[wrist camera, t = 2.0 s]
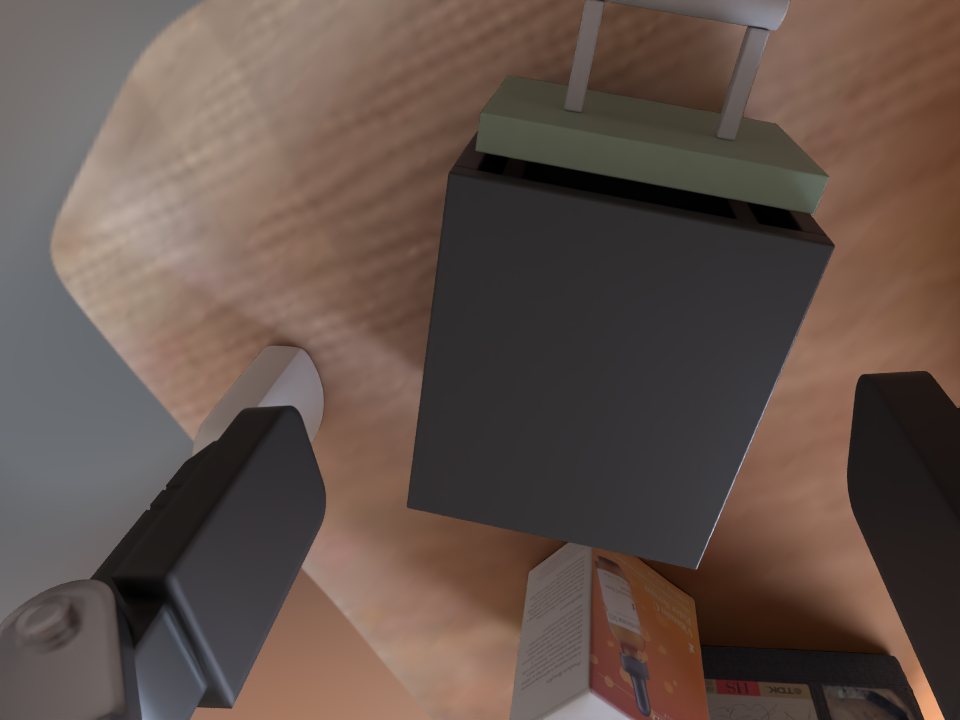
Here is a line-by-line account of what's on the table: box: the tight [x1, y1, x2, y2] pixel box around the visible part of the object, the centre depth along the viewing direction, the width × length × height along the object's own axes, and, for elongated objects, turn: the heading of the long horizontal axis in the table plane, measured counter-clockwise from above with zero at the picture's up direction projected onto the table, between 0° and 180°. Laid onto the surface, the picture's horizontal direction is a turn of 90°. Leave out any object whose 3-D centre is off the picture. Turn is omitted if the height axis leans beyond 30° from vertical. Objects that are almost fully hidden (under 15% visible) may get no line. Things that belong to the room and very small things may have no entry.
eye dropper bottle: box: [192, 346, 324, 457], centre depth 33 cm, size 4×6×12 cm
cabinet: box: [407, 131, 835, 569], centre depth 29 cm, size 14×12×9 cm
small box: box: [510, 542, 709, 720], centre depth 37 cm, size 8×6×10 cm
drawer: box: [475, 0, 829, 223], centre depth 26 cm, size 17×10×7 cm, turn 171°
